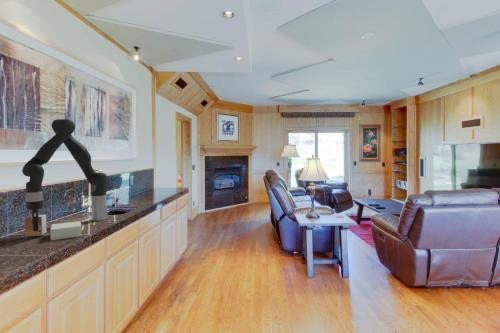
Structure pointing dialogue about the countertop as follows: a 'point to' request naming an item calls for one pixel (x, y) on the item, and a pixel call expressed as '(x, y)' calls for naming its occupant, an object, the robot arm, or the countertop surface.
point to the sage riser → (65, 230)
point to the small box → (29, 226)
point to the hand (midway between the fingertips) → (36, 229)
